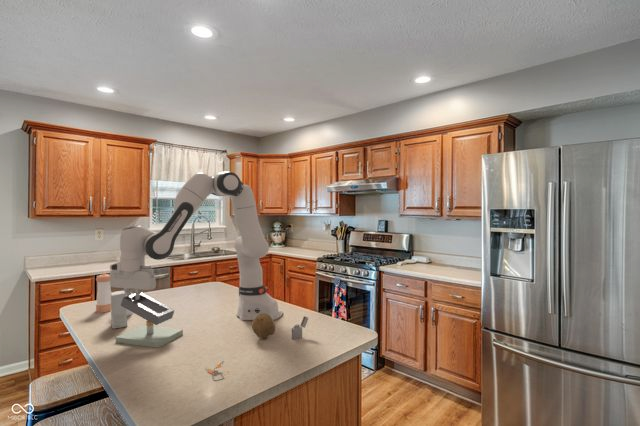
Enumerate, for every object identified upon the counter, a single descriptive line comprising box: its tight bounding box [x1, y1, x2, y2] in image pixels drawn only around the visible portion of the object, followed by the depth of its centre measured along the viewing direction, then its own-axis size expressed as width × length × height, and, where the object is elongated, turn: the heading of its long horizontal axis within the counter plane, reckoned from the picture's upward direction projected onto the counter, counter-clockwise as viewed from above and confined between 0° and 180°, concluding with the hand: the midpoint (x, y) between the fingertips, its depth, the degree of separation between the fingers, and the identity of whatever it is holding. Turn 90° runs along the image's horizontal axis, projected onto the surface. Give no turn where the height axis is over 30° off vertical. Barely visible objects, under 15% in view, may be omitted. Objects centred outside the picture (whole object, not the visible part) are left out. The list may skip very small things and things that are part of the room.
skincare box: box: [110, 290, 128, 329], centre depth 154 cm, size 8×6×15 cm
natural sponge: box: [251, 313, 276, 340], centre depth 138 cm, size 9×9×10 cm
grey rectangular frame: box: [121, 292, 175, 326], centre depth 139 cm, size 18×9×4 cm, turn 74°
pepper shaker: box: [95, 272, 112, 313], centre depth 177 cm, size 7×7×19 cm
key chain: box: [205, 360, 229, 382], centre depth 111 cm, size 13×7×1 cm, turn 28°
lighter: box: [291, 315, 309, 341], centre depth 139 cm, size 7×2×8 cm, turn 124°
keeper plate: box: [115, 320, 184, 348], centre depth 139 cm, size 20×14×7 cm
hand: (133, 299), depth 141 cm, fingers closed on grey rectangular frame, 2 cm apart
